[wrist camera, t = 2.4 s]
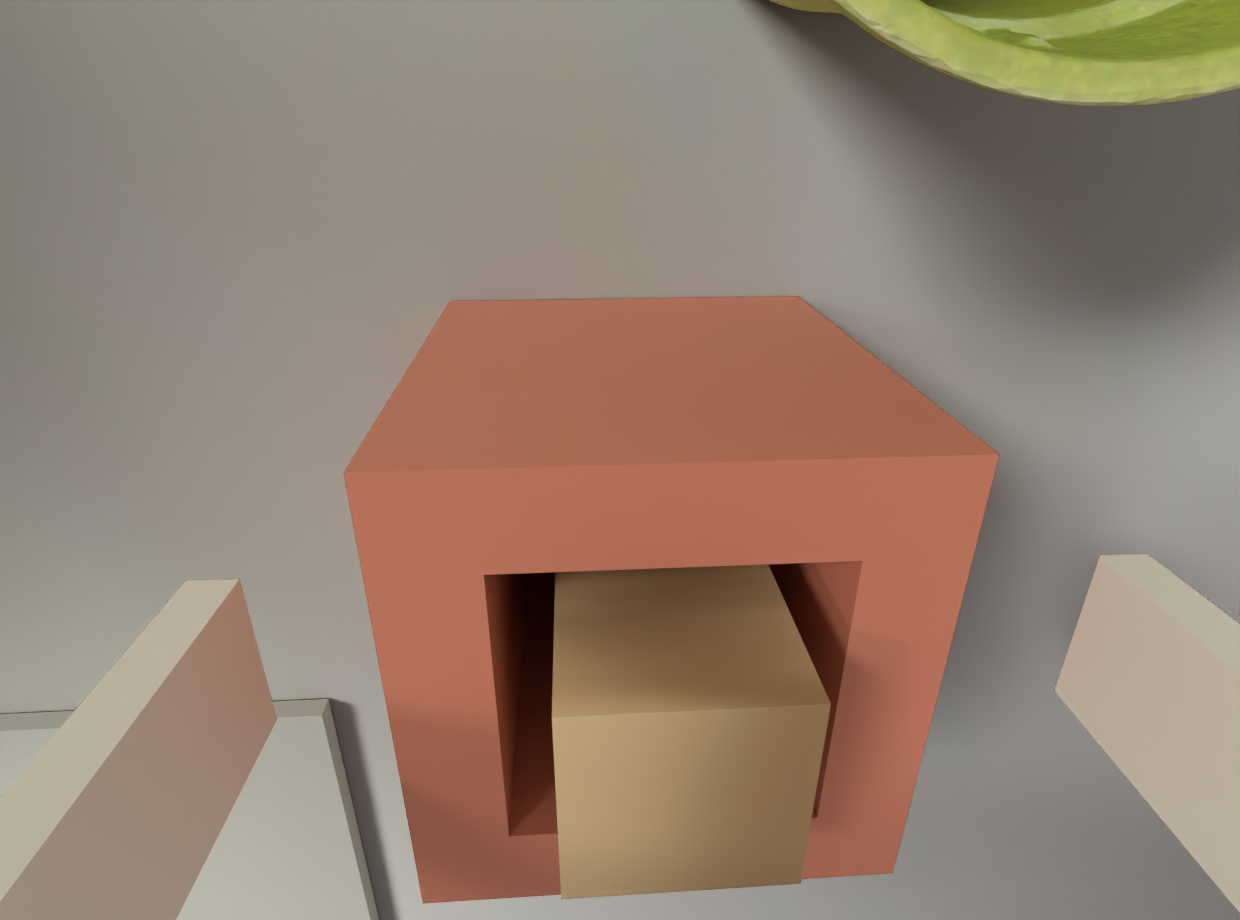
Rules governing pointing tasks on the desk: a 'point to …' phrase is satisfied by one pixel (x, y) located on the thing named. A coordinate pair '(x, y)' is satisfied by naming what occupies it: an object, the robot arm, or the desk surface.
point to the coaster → (261, 823)
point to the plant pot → (1063, 45)
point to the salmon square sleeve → (651, 547)
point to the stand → (681, 731)
